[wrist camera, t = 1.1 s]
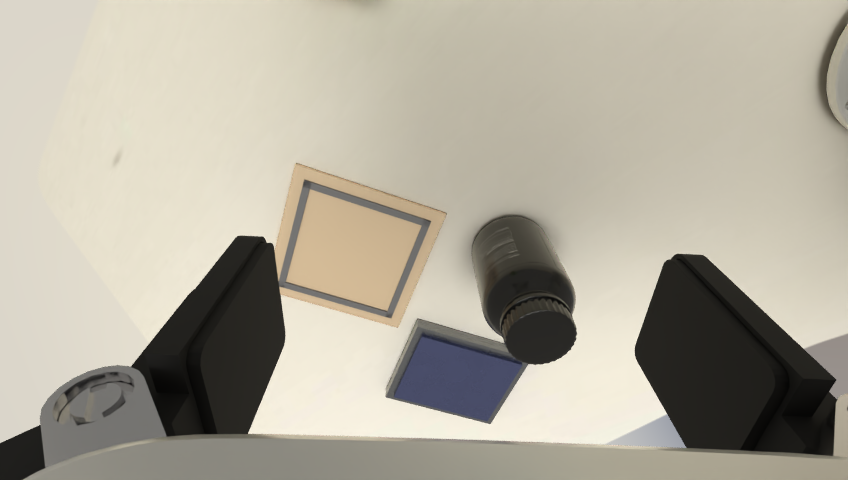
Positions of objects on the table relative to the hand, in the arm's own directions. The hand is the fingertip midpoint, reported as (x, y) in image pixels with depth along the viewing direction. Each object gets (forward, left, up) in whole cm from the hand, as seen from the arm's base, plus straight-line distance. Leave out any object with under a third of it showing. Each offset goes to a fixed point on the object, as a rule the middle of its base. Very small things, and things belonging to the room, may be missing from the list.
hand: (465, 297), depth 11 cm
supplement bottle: (-11, +10, -26) cm, 30 cm away
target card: (+2, +16, -26) cm, 30 cm away
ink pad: (-12, +26, -26) cm, 38 cm away
